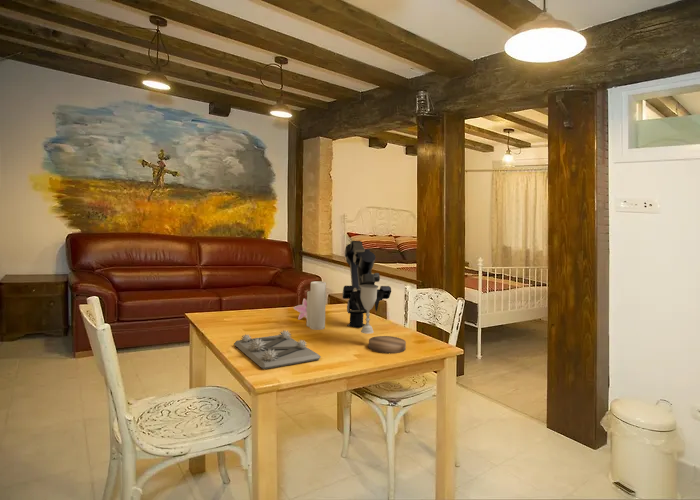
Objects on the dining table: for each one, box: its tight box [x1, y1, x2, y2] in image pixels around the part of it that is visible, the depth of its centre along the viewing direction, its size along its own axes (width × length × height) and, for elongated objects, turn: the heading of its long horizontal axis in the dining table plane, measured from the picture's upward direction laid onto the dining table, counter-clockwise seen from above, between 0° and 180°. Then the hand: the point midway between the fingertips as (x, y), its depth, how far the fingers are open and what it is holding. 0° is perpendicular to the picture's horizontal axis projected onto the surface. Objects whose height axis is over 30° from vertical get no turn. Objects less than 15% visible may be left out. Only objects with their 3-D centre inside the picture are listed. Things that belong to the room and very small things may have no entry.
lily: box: [293, 298, 307, 320], centre depth 209 cm, size 12×12×10 cm
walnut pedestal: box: [368, 335, 407, 354], centre depth 167 cm, size 14×14×2 cm
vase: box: [306, 280, 327, 331], centre depth 194 cm, size 11×7×20 cm, turn 20°
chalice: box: [360, 284, 379, 335], centre depth 170 cm, size 7×7×18 cm
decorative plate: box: [233, 329, 322, 370], centre depth 158 cm, size 30×22×7 cm
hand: (368, 310), depth 169 cm, fingers closed on chalice, 6 cm apart
